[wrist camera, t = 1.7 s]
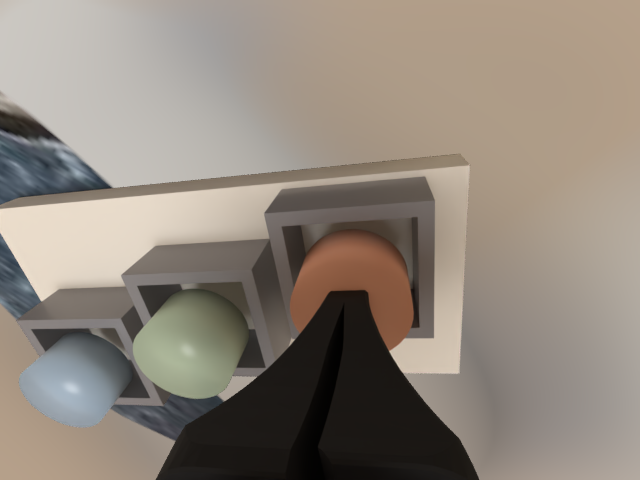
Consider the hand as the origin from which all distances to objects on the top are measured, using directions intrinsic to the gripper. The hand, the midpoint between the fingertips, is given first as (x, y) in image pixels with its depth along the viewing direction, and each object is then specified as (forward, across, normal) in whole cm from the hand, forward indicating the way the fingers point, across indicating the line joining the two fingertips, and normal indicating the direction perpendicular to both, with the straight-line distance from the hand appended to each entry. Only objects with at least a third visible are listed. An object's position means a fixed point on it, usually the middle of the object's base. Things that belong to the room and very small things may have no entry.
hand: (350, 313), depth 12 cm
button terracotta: (+2, 0, 0) cm, 2 cm away
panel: (+7, +8, +2) cm, 11 cm away
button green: (+2, +7, +2) cm, 8 cm away
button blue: (+2, +15, +5) cm, 16 cm away
